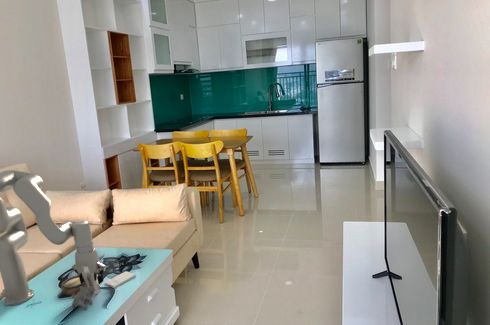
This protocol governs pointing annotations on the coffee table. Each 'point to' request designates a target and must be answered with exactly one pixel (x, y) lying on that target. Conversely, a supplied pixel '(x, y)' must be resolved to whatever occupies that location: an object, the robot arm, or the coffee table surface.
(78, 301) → the elephant statuette
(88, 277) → the silver metal cup
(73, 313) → the coffee table surface
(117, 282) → the external hard drive
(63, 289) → the brown round bowl
